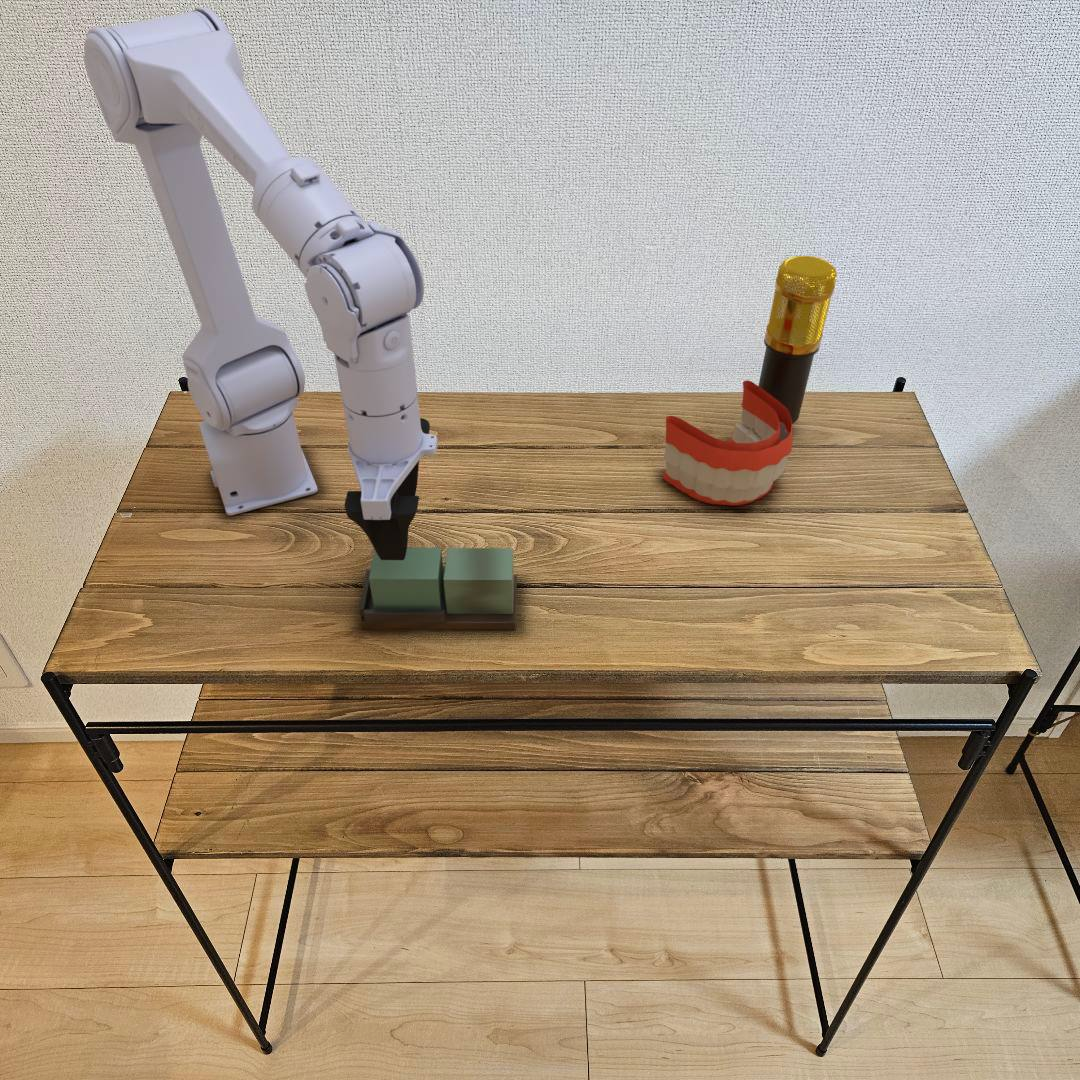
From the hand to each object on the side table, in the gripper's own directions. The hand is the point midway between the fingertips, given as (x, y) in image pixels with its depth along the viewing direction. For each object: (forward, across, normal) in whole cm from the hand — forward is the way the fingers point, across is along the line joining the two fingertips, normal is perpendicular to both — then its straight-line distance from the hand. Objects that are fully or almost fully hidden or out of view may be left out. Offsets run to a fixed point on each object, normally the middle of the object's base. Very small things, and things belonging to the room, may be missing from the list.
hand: (398, 526), depth 77 cm
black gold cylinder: (+9, +27, -43) cm, 52 cm away
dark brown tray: (+9, -1, -3) cm, 10 cm away
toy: (+9, +17, -33) cm, 38 cm away
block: (+8, -1, 0) cm, 8 cm away
